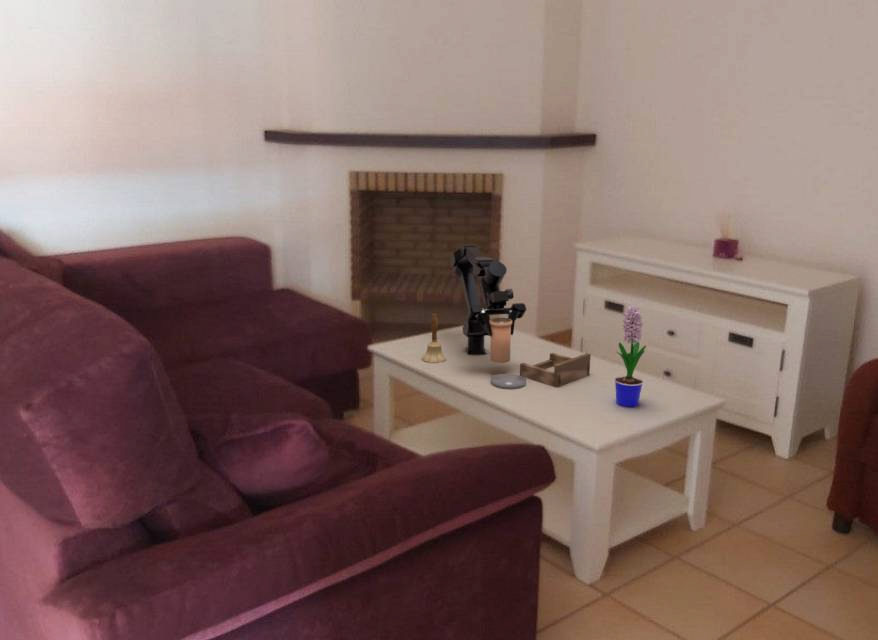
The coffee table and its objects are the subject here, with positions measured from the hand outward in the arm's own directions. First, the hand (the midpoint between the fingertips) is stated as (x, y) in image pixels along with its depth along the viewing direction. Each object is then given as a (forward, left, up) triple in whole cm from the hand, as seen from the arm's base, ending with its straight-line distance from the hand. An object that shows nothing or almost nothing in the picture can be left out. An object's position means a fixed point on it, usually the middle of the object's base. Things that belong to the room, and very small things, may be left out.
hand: (501, 335), depth 270 cm
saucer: (+7, +2, -13) cm, 15 cm away
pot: (-1, 0, -9) cm, 9 cm away
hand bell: (-17, -20, -14) cm, 30 cm away
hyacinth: (+25, +35, -14) cm, 45 cm away
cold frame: (0, +17, -13) cm, 22 cm away
